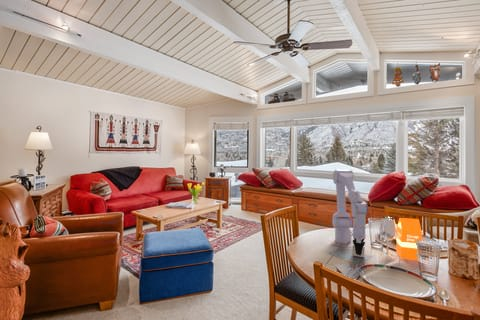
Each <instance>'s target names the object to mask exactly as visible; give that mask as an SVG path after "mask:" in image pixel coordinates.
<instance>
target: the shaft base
mask: <svg viewBox="0 0 480 320" xmlns="http://www.w3.org/2000/svg"><path fill="white" fill-rule="evenodd" d="M325 253H327V254H328V255H332V256H333V257H336V258H338V259H341V260H343V261H345V262H348V263H350V264H353V265H357V264H360V263H362V262H365V261H368V260H370V259H372V258H374V256H373V255H370V254H367V253H364V257H360V256H354V255H352V248H350V247H347V246H342V247H339V248H335V249H333V250H330V251H327V252H325Z"/></svg>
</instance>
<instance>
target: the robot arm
mask: <svg viewBox="0 0 480 320" xmlns="http://www.w3.org/2000/svg"><path fill="white" fill-rule="evenodd" d="M332 176H333V178H332V179H333V180H332V182H333V184H334V185H335V187H336V188H335V189H336V210H337V211H336V212H335V213H333V214H332V219H331V223H332V226H333V228H334V229H335V231H334V240H335V241H334V242H336V243H338V244H348V243H352V245H353V244H354V246H355V251H356V255H361V253H362V249H363V246H364V245H366V241H365V239H366V237H367V236H366V220H367V219H366V218H367V217H366V215H367V214H368V212H369V206H368V204H367V202H366V201H365V200H363V199H362V196H361V194H360V192H359V190H357V189H356V186H355V184H354V176H355V175H354V172H353V170H352V169H335V170H334V171H333V174H332ZM346 189H347V191H348V193H347V196H348V199H349V203H350V204H351V206H350V210H351V215H350V214H349V213H348V212H347V202H346ZM351 228H352V230H351ZM352 238H353V239H352Z"/></svg>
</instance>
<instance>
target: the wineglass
mask: <svg viewBox="0 0 480 320" xmlns="http://www.w3.org/2000/svg"><path fill="white" fill-rule="evenodd" d="M378 229H379V233H378V234H379V235H380V236H381V237H382V239H384V240H386V252H383V254H384V255H387V256H389V257H393V258H397V257H396V255H394V254H392V253H389V242H390V241H392V240H394V239H395V238H397V224H396V221H395V218H393V217H390V216H383V217H381V220H380V225H379V228H378Z"/></svg>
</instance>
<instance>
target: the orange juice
mask: <svg viewBox="0 0 480 320" xmlns="http://www.w3.org/2000/svg"><path fill="white" fill-rule="evenodd" d="M396 229H397V235H396V254H397V256H398V257H400V259H401V260H402V259H403V260H413V261H419V260H418V258H417V245H416V241H422V239H423V232H422V227H421V223H420V219H419V218H409V217H408V218H407V217H399V219H398V223H397V224H396ZM422 242H423V241H422Z"/></svg>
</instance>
